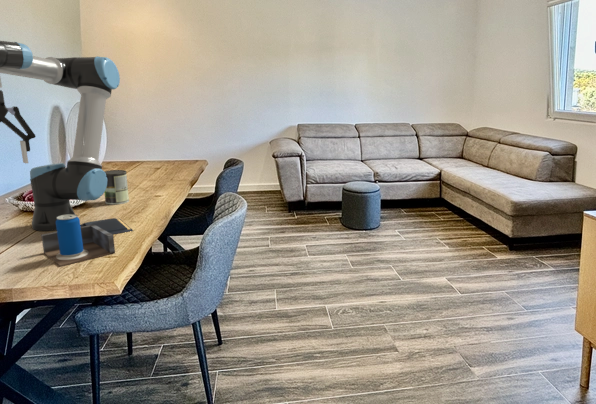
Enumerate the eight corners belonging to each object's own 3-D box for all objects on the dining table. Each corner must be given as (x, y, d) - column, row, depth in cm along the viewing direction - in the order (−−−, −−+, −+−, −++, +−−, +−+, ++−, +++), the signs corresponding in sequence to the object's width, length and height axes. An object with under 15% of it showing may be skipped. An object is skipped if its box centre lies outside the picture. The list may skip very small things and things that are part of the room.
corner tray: (43, 252, 140) (41, 234, 139) (96, 241, 151) (93, 224, 150) (60, 266, 129) (57, 247, 128) (115, 253, 140) (113, 234, 139)
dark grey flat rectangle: (79, 221, 170) (121, 215, 178) (79, 226, 170) (121, 220, 178) (88, 235, 154) (133, 228, 162) (88, 240, 154) (134, 233, 162)
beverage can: (85, 249, 141) (80, 212, 138) (82, 256, 135) (77, 218, 132) (62, 251, 139) (57, 214, 137) (58, 258, 133) (52, 220, 131)
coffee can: (104, 205, 199) (100, 174, 195) (106, 200, 208) (103, 170, 205) (128, 203, 202) (125, 173, 198) (129, 198, 211) (127, 169, 208)
